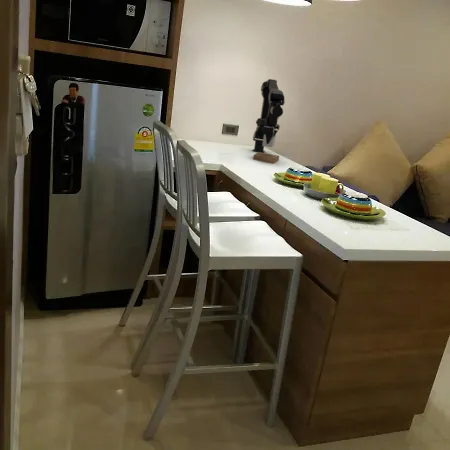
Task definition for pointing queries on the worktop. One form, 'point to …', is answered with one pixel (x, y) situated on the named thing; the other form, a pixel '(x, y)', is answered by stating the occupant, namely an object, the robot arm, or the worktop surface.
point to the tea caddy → (271, 143)
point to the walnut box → (266, 157)
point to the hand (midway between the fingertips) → (268, 143)
